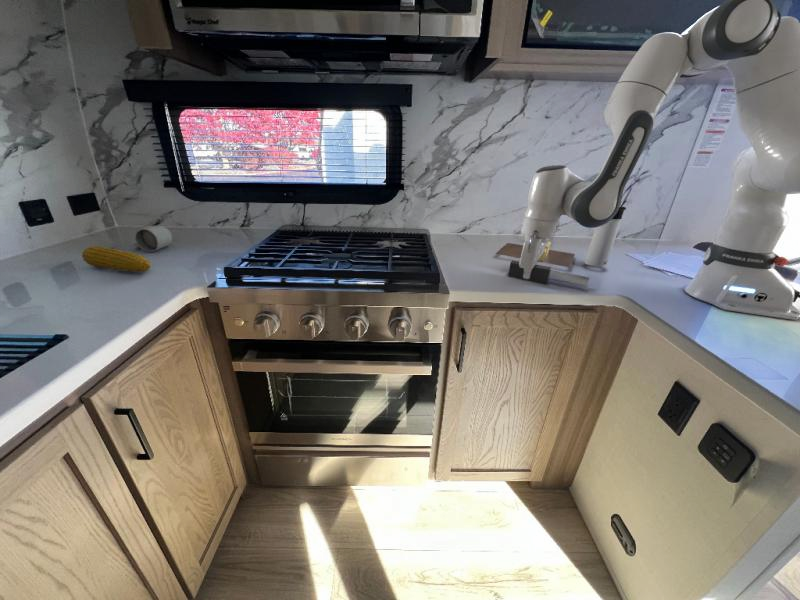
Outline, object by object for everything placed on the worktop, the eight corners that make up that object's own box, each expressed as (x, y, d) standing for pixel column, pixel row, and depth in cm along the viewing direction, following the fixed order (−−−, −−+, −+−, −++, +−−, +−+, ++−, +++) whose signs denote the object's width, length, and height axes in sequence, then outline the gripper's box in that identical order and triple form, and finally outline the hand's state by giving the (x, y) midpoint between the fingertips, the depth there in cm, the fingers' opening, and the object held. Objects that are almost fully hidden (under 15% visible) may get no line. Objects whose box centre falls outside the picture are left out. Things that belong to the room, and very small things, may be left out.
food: (82, 268, 94) (74, 248, 91) (102, 262, 99) (95, 243, 96) (143, 276, 90) (137, 255, 88) (161, 269, 95) (155, 249, 93)
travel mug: (609, 272, 106) (630, 208, 97) (587, 270, 107) (605, 207, 99) (602, 266, 112) (621, 205, 103) (581, 264, 113) (598, 204, 104)
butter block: (548, 251, 120) (550, 242, 118) (545, 256, 114) (548, 246, 113) (534, 248, 122) (536, 239, 121) (530, 253, 117) (532, 244, 115)
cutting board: (573, 257, 119) (574, 253, 118) (569, 271, 105) (570, 267, 105) (506, 246, 129) (507, 242, 129) (494, 257, 116) (495, 253, 115)
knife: (585, 289, 93) (589, 274, 91) (584, 292, 91) (589, 277, 89) (509, 273, 102) (512, 260, 100) (507, 276, 100) (510, 262, 98)
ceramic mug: (176, 245, 116) (170, 223, 113) (161, 252, 109) (153, 229, 105) (147, 244, 116) (140, 222, 113) (129, 251, 109) (121, 228, 105)
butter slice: (544, 259, 111) (546, 249, 110) (543, 261, 109) (545, 251, 108) (528, 256, 114) (530, 246, 112) (527, 258, 111) (529, 248, 110)
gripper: (544, 237, 82) (533, 288, 88) (555, 223, 98) (545, 267, 104) (519, 233, 85) (509, 283, 91) (533, 220, 101) (524, 263, 107)
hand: (528, 274), depth 98 cm, fingers open, 5 cm apart
